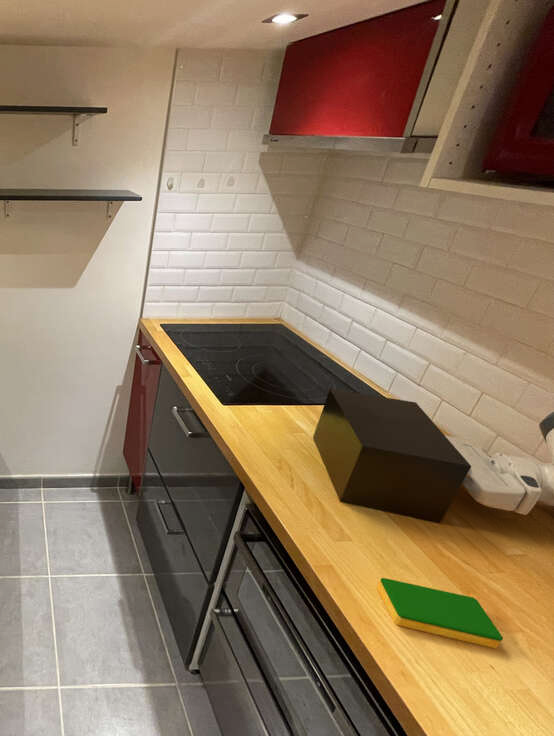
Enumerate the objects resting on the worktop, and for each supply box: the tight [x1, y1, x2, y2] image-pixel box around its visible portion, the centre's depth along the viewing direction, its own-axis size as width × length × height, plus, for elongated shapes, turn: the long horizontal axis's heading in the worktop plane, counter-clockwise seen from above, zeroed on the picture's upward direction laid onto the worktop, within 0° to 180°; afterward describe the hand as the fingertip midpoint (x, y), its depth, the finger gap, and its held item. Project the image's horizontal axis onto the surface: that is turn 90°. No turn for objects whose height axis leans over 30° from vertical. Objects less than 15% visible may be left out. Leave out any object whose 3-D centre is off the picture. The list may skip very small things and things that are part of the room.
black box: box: [312, 388, 472, 524], centre depth 101 cm, size 20×24×15 cm
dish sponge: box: [376, 577, 504, 649], centre depth 73 cm, size 7×14×2 cm, turn 74°
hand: (428, 460), depth 99 cm, fingers closed, pressing on black box
